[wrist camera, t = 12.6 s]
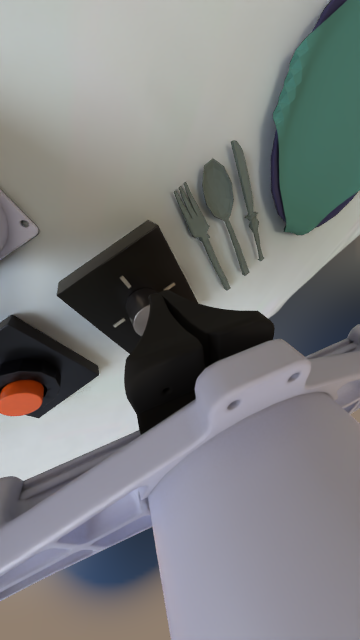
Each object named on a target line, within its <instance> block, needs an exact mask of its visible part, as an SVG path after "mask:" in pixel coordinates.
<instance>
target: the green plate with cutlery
mask: <svg viewBox="0 0 360 640" xmlns="http://www.w3.org/2000/svg"><path fill="white" fill-rule="evenodd" d="M273 119H274V122H275V124H276V132H275V138H274V144H273V149H272V155H271V192H272V195H273V199H274V202H275V206H276V209H277V213H278V215H279V216H280V217H281V218H282V219H283V221H284V222H285V223H286V226H285V228H284V232H290V233H294V234H296V235H304V234H306V233H309V232H310V231H311V230H313V229H314V228H316V227H319V226H320V225H322V224H324V223H325V222H327V221H328V220H330V219H331V218H333V217H334V216H336V215H337V214H338V213H339V212H340V211H341V210H342V209H343V208H344V207H345V206H346V205H347V204H348V203H349V202H350V201H351V200H352V199H353V198H354V196H355V195H356V194H357V192H358V191H359V190H360V0H331V1H330V3H329V4H328V5H327V6H326V7H325V9H324V10H323V12H322V14H321V16H320V18H319V20H318V22H317V24H316V25H315V27H314V29H313V31H312V33H311V34H310V35H309V36H308V37H306V38H305V40H304V41H303V42H302V43H301V44H300V46H299V47H298V48H297V49H296V51H295V53H294V55H293V57H292V60H291V62H290V65H289V72H288V74H287V76H286V79H285V81H284V88H283V90H282V92H281V94H280V96H279V100H278V105H277V107H276V109H275V110H274V112H273ZM231 145H232V149H233V153H234V158H235V162H236V166H237V170H238V174H239V178H240V183H241V187H242V191H243V195H244V199H245V203H246V207H247V212H248V215H247V216H246V217H245V218H248V220H249V221H250V223H249V227H250V229H251V230H252V232H253V233H254V237H255V241H256V245H257V248H258V254H259V259H258V260H260V261H262V260H263V259H264V257H263V255H262V251H261V247H260V240H259V234H258V225H259V221H258V220H257V219H256V215H257V214H258V213H257V212H253V200H252V191H251V186H250V181H249V176H248V171H247V166H246V162H245V157H244V153H243V150H242V148H241V146H240V145H239V144H238V142H237V141H235V140H234V141H231ZM202 186H203V191H204V196H205V201H206V205H207V206H208V208H209V209H210V211H211V212H212V214H213V215H214V217H217V218H219V219H221V220H223V221H225V223H226V226H227V229H228V231H229V234H230V237H231V240H232V243H233V246H234V248H235V251H236V255H237V258H238V261H239V264H240V268H241V271H242V274H243V275H244V276H246V275H247V274H248V273H249V270H248V267H247V264H246V261H245V259H244V256H243V253H242V251H241V248H240V245H239V243H238V241H237V238H236V236H235V233H234V231H233V228H232V226H231V224H230V222H229V217H230V215H231V210H232V206H233V201H234V199H233V191H232V182H231V180H230V178H229V176H228V174H227V172H226V170H225V168H224V166H223V165H221V164H220V163H219V162H217V161H216V160H214V159H212V160H210V161H209V162H208V163H207V164H206V165H205V166H204V173H203V184H202ZM184 187H185V190H186V193H187V195H188V198H189V200H190V203H191V205H192V206H191V205H190V203H189V201H188V199H187V197H186V195H185V193H184V191H183V189H182V187H181V186H180V187H179V190H180V193H181V196H182V198H183V201H184V203H185V205H186V208H187V209H186V208H185V206H184V204H183V202H182V201H181V199H180V197H179V195H178V193H177V191H174V194H175V196H176V199H177V202H178V204H179V206H180V208H181V211H182V213H183V215H184V217H185V220H186V222H187V225H188V228H189V230H190V232H191V234H192V236H193V237H195V238H199V240H200V241H202V242H203V244H204V247H205V249H206V251H207V254H208V256H209V258H210V260H211V262H212V264H213V267H214V269H215V271H216V272H217V274H218V276H219V278H220V280H221V282H222V284H223V287H224V289H226V290H229V289H230V286H229V283H228V281H227V279H226V277H225V275H224V273H223V271H222V269H221V267H220V265H219V263H218V261H217V258H216V256H215V254H214V251H213V249H212V246H211V244H210V241H209V238H210V237H209V235H208V234H207V231H208V229H209V225H208V223H207V222H206V220H205V218H204V216H203V214H202V213H201V211H200V209H199V207H198V205H197V203H196V201H195V200H194V198H193V196H192V194H191V192H190V190H189V187H188V185H187V183H186V182H185V183H184ZM187 210H188V211H187ZM188 212H189V213H188Z"/></svg>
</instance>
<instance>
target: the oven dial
mask: <svg viewBox="0 0 360 640" xmlns="http://www.w3.org/2000/svg"><path fill="white" fill-rule="evenodd" d="M154 293H157V292H156V291H155V290H153V289H149V288H143V289H139V290H137V291H135V292H134V293H132V294H131V295H130V297H129V298H128V300H127V303H126V310H127V313H128V315H129V317H130V320H131V322H132V325H133V327H134V330H135V331H136V333H137V334H139V335H140V336H142V335H143V333H144V330H145V328H146V325H147V321H148V317H149V311H150V301H149V295H151V294H154Z"/></svg>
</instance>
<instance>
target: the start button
mask: <svg viewBox="0 0 360 640" xmlns="http://www.w3.org/2000/svg"><path fill="white" fill-rule="evenodd" d="M43 394H44V387H43V385H42V384H41V383H40V382H38V381H35V380H18V381H14V382H11V383H9V384H8V385H6V386H5V387H4V388H3V389H2V391H1V393H0V413H1V414H3V415H7V416H21V415H26V414H29V413H31V412H33V411H35V410H37V409H38V408H39V407H40V406H41V405H42V402H43Z"/></svg>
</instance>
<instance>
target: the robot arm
mask: <svg viewBox="0 0 360 640" xmlns="http://www.w3.org/2000/svg"><path fill="white" fill-rule="evenodd" d="M22 220H25V221H27V222H28V224H29V226H28V227H26V226H23V225H22V223H21V221H22ZM38 232H39V230H38V227H37V226H36V225H35V224H34V223H33V222H32V221H31V220H30V219H29V218H28V217H27V216H26V215H25V214H24V213H23V212H22V211H21V210H20V209H19V208H18V207H17V206H16V205H15V204H14V203H13V202H12V201H11V200H10V199H9V197H8V196H7V195H6V194H5V193H4V192H3V191H2V190H1V189H0V260H1V259H3V258H4V257H5V256H7V255H8V254H10V253H11V252H13V251H14V250H16V249H17V248H19V247H20V246H22V245H23V244H24V243H26V242H27V241H29V240H30V239H32V238H33V237H35V236H36V235H37V234H38ZM149 301H150V311H149V317H148V321H147V325H146V328H145V330H144V333H143V335H142V337H141V339H140V341H139V342H138V344H137V346H136V347H135V349H134V350H133V351H132V353H131V354H130V355H129V356H128V357H127V359H126V365H125V375H124V383H125V391H126V395H127V399H128V400H129V402H130V404H131V405H132V407H133V409H134V410H135V412H136V414H137V418H138V424H139V430H138V431H136V432H134V433H132V434H129V435H127V436H125V437H123V438H120V439H118V440H116V441H113V442H111V443H109V444H107V445H104V446H102V447H100V448H98V449H95V450H93V451H91V452H89V453H86V454H84V455H82V456H79V457H77V458H75V459H73V460H70V461H68V462H66V463H64V464H61V465H59V466H57V467H55V468H52V469H50V470H48V471H45V472H43V473H41V474H39V475H36V476H34V477H32V478H30V479H27V480H25V481H22V480H21V479H19V478H17V477H13V476H9V477H3V478H0V601H2V600H4V599H5V598H7V597H9V596H11V595H13V594H15V593H17V592H19V591H21V590H22V589H24V588H26V587H28V586H30V585H32V584H34V583H36V582H38V581H40V580H42V579H44V578H46V577H48V576H50V575H52V574H54V573H56V572H58V571H60V570H62V569H64V568H66V567H68V566H70V565H73V564H74V563H77V562H79V561H81V560H83V559H85V558H87V557H89V556H91V555H93V554H96V553H98V552H100V551H102V550H104V549H106V548H108V547H110V546H112V545H114V544H117V543H119V542H121V541H123V540H125V539H127V538H129V537H132V536H134V535H136V534H138V533H140V532H142V531H144V530H146V529H148V528H150V527H153V531H154V532H153V533H154V539H155V545H156V551H157V557H158V563H159V569H160V575H161V581H162V587H163V593H164V600H165V606H166V612H167V618H168V624H169V630H170V636H171V640H360V423H359V422H358V421H356V420H355V419H354V418H353V417H352V416H351V415H350V414H351V413H353V412H355V411H356V410H358V409H359V408H360V324H359V325H357V326H355V327H354V328H353V329H352V330H351V331H350V333H349V335H348V338H347V339H345V340H342V341H340V342H338V343H336V344H333V345H331V346H329V347H327V348H324V349H322V350H320V351H318V352H315V353H313V354H311V355H308V356H306V357H304V356H303V355H302V354H300V353H299V352H298V351H297V350H295V349H294V348H293V347H292V346H290V345H289V344H288V343H287V342H285V341H284V340H282V339H276V340H273V336H274V325H273V323H272V322H271V321H270V320H269V319H268V318H266V317H265V316H264V315H263V314H261V313H260V312H258V311H236V310H225V309H219V308H213V307H209V306H205V305H201V304H198V303H195V302H193V301H190V300H188V299H185V298H183V297H181V296H179V295H177V294H175V293H173V292H171V291H169V290H164V291H161V292H158V293H154V294H151V295H149Z"/></svg>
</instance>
